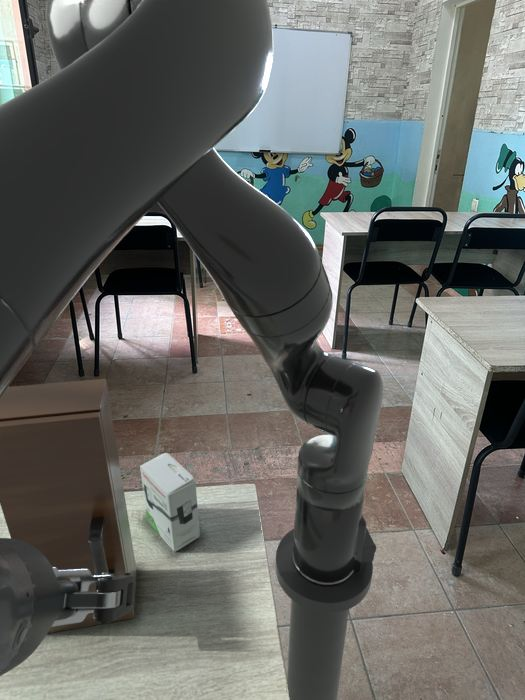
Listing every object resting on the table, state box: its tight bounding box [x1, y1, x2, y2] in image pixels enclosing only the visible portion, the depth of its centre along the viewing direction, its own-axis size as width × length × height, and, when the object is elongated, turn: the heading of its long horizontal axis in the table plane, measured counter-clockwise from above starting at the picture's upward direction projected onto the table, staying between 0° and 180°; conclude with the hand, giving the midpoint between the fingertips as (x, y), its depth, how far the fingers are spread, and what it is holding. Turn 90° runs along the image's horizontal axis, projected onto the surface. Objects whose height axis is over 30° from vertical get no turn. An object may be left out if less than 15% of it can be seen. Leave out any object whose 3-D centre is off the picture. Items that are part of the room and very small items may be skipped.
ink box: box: [139, 452, 200, 553], centre depth 74 cm, size 9×5×12 cm, turn 42°
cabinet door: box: [0, 412, 135, 634], centre depth 54 cm, size 5×12×32 cm, turn 101°
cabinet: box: [0, 378, 137, 611], centre depth 59 cm, size 6×12×32 cm, turn 101°
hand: (57, 588), depth 40 cm, fingers open, 8 cm apart
